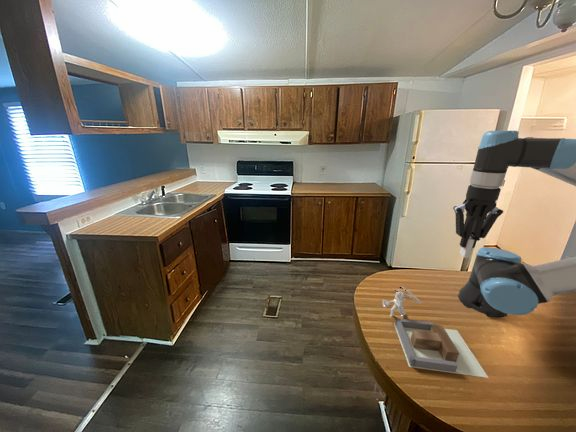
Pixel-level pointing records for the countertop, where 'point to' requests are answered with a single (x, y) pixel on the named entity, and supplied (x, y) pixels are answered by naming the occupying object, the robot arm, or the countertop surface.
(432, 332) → the t block
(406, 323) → the board
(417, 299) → the silver tweezers
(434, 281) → the countertop surface
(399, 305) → the figurine
